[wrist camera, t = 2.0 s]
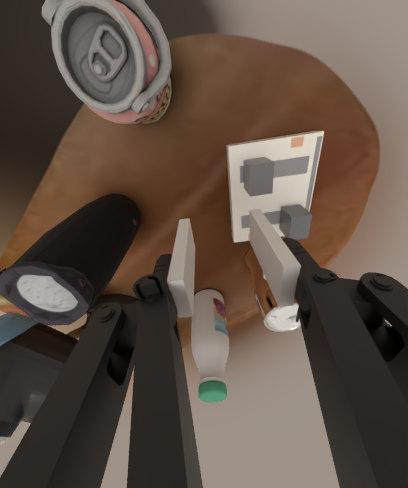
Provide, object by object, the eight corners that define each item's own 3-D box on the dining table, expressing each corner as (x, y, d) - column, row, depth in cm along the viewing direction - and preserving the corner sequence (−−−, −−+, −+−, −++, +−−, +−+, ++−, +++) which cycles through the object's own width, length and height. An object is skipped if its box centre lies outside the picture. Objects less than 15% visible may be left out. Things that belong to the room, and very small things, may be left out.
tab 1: (244, 188, 28) (250, 196, 25) (243, 160, 26) (249, 165, 23) (263, 185, 28) (272, 193, 25) (264, 156, 26) (274, 161, 23)
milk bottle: (193, 309, 48) (190, 407, 32) (191, 288, 44) (186, 389, 27) (223, 308, 48) (235, 405, 32) (223, 287, 44) (238, 387, 27)
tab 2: (279, 228, 32) (288, 240, 29) (281, 207, 30) (291, 217, 27) (296, 226, 32) (307, 237, 29) (299, 204, 30) (312, 214, 27)
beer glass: (271, 269, 41) (302, 332, 29) (240, 269, 41) (258, 332, 29) (278, 243, 38) (319, 302, 25) (245, 242, 37) (268, 302, 25)
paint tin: (136, 8, 20) (75, -107, 10) (192, 80, 24) (187, 47, 14) (95, 85, 24) (18, 56, 14) (148, 138, 27) (119, 147, 17)
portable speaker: (144, 195, 32) (87, 271, 15) (141, 240, 37) (95, 335, 20) (91, 183, 30) (-34, 253, 14) (95, 232, 35) (6, 325, 19)
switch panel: (231, 235, 36) (234, 242, 34) (226, 144, 28) (228, 146, 26) (299, 227, 36) (305, 233, 33) (314, 130, 27) (324, 131, 25)
